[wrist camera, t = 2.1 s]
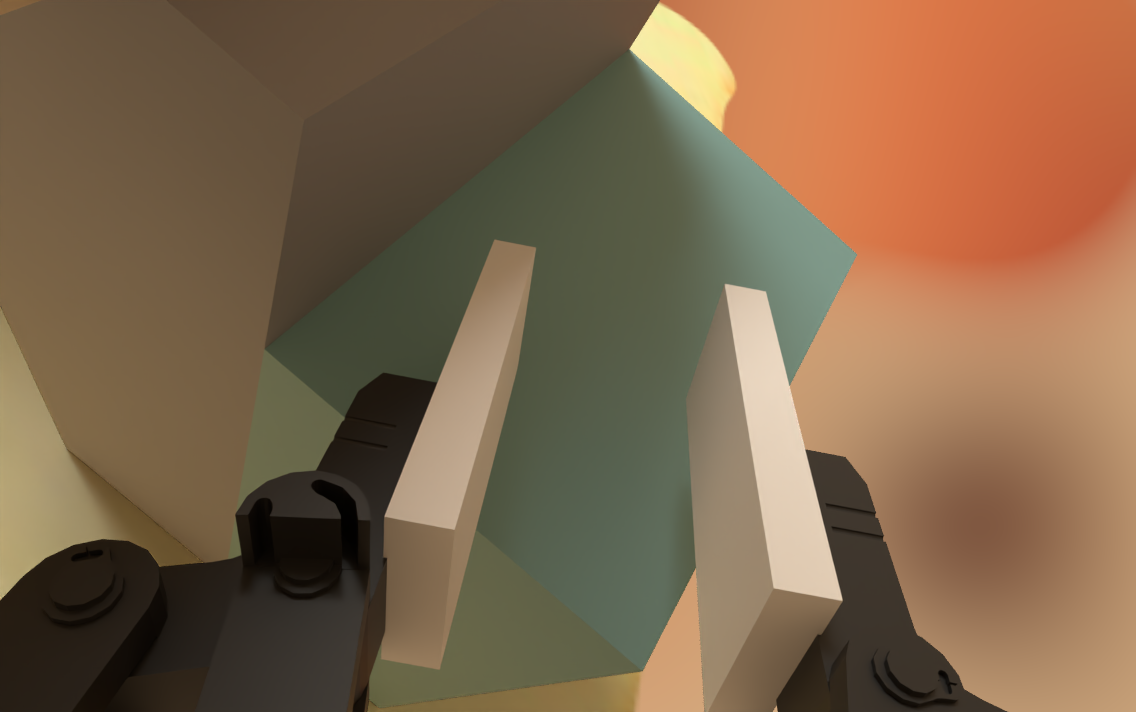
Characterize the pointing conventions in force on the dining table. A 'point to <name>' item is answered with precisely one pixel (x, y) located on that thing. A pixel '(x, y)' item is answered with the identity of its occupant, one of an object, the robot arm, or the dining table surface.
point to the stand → (391, 277)
